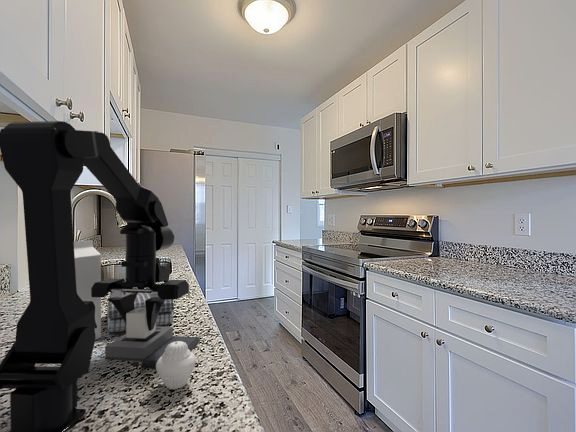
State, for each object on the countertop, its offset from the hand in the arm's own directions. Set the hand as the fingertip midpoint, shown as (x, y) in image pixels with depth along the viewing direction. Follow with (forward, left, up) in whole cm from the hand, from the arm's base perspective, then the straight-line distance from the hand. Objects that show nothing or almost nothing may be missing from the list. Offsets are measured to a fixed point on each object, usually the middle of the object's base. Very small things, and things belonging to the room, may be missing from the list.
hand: (141, 329), depth 63 cm
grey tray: (0, 0, -4) cm, 4 cm away
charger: (0, 0, -1) cm, 1 cm away
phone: (-2, -8, -4) cm, 9 cm away
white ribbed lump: (-12, -14, -4) cm, 19 cm away
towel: (+16, +11, -4) cm, 20 cm away
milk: (+2, +16, -4) cm, 17 cm away
